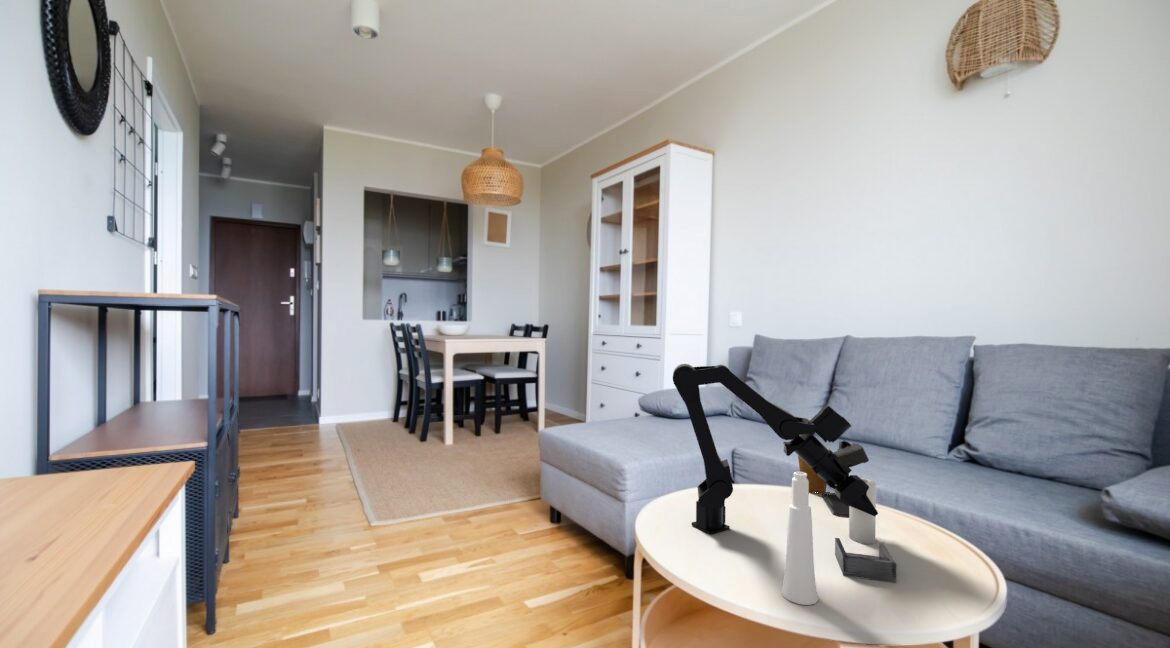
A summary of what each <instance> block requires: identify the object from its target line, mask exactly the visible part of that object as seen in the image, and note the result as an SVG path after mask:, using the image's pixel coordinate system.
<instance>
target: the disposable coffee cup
mask: <svg viewBox="0 0 1170 648" xmlns="http://www.w3.org/2000/svg"><path fill="white" fill-rule="evenodd" d="M826 448H827V447H826ZM827 449H829V448H827ZM797 460H798V468H799V472H804V473H806V474H807V477H806V478H807V479H808V481H809V494H815V492H816V493H817V492H818V494H819V493H822V494H824V493H825V494H826V493H827V492H826V491H827V486H828V485H827V484H826V483H825V482H824V481H823V480H822V479H821V478H820V477H819V476H818V475H817V474H816V473H815V472H814V471H813V470H812V469H811V467H810V466H809V465H808V464H807V463H806V462H805V461H804V460H802V459H801V458H800V457H799V456H798V455H797Z"/></svg>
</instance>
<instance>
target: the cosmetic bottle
mask: <svg viewBox="0 0 1170 648" xmlns="http://www.w3.org/2000/svg"><path fill="white" fill-rule="evenodd" d="M806 477H807V474H806V473H804V472H800V471H794V472H793V477H792V478H791V503H789V506H788V517H787V518H788V521H787V535H786V536H787V537H786V538H787V539H786V554H785V565H784V572H783V573H784V574H783V581H782V586H781V595H782V596H783V597H784V598H785V599H786V600H788V601H789V602H791V603H794V604H798V605H801V606H811V605H815V604H816V603H817V602H818V601H819V596H818V595H819V594H818V591H817V589H818V588H817V582H816V575H815V563H814V542H813V540H814V537H813V522H812V521H813V518H812V507H811V506H810V505H809V504H810V503H809V502H810V501H809V494H810V493H809V481H808V479H807V478H806Z"/></svg>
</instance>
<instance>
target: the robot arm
mask: <svg viewBox="0 0 1170 648" xmlns="http://www.w3.org/2000/svg"><path fill="white" fill-rule="evenodd" d="M672 381H673V384H674V386H675V388H676V390H677V392H678V394H679V396H680V398H681V400H682V401H683V403H684V405H685V406H686V409H687V413H688V416H689V419H690V422H691V425H692V428H693V432H694V434H695V438H696V440H697V444H698V446H699V447H698V448H699V450H700V453H701V456H702V459H703V465H704V473H705V478H704V480H703V481H702V482H700V484H699V485H697V494H698V499H697V500H696V501H695V505H696V506H695V510H696V511H695V513H696V514H695V521H693V522H691V526H693V527H695V528H697V529H699V530H701V531H703V532H705V533H706V534H708V535H712V534H713V535H714V534H717V533H719V532H723V531H726V530H730V526H729V525H727V524H726V505H725V503H726V502H725V501H726V499H728V498H730V497H731V495H732V493H733V492H734V487H733V486H734V485H733V484H735V483H736V481H735V479H734V475H733V473H732V472H731V469H730V468H731V467H730V464H729V461H728V459H724V460H722V459H721V456H720V455H719V453H718V450H717V447H716V445H715V441H714V439H713V436H712V432H711V429H710V426H709V422H708V420H707V417H706V413H705V409H704V408H703V405H702V400H701V395H700V394H701V393H700V386H703V385H704V386H705V385H711V384H718V383H719V384H721V385H723V386H724V387H725V388H726V389H727V390H729V391H730V392H731V393H732V394H733V395H735V396H736V397H737V398H739V400H741V401H742V402H743V403H744V404H745V405H747V406H748V407H750V408H751V409H752V410H753V411H755V413H757V414H758V415H759V416H760V417H761V418H762V420H764V421H765V423H766V424H767V425H768V426H769V428H770V429H772V430H773V432H774V433H775V434H776V436H778V437H779V438H780V439H782V440H784V441H783V453H785V456H787V457H790V456H791V455H792V454H793V453H794V452H795V454H796V455H797V457H798V456H799V457H800V458H801V459H802V460H804V461H805V462H806V463H807V464H808V465H809V466H810V467H811V469H812V470H813V471H814V472H815V473H816V474H817V475H818V476H819V477H820V478H821V479H822V480H823V481H824V482H825V483H826V484H827V486H829V488H830V489H831V488H832V489H834V491H835V492H834V494H836V496H837V497H838V498H839V499H840V500H841V501H842V502H843V503H844V504H845V505H846V506H851V507H853V508H856V509H858V510H861V511H863V512H865V513H868V514H870V515H872V516H877V515H879V511H878V510H877V509H875V507H874V506H873V504H872V503H871V501H870V500H869V498H868V497H867V491H868V488H869V486H868V485H867V484H866V483H865V482H864V481H863V480H862V479H861V478H862V477H860V476H859V475H857V474H855V475H854V474H850V473H851V472H852V471H853V470H852V469H851V468H852V467H856V466H859V465H861V464H866V463H868V462H869V461H870V459H869V457H868V454H867V453H866V451H865V449H864V447H863V446H862V445H861V444H859V443H855V442H853V443H850V442H849V441H847V440H846V439H844V440H841V441H839V442H838V448H837V450H836V451H834V452H833V451H832V450H831V449H830V448H828V449H827V447H826V446H825V445H824V444H823V443H822V442H821V441H820V440H819V439H818V438H817V437H816V436H815V435H817V436H818V437H819V438H820V439H821V440H822V441H823V442H824V443H827V442H828V443H834V442H836V441H837V440H838V439H840V437H841V436H842V435H844V433H846V432H847V431H848V430H849V429H851V428H852V425H851V423H850V422H849V421H848V420H847V419H846V418H845V417H843V416H842V415H841V414H839V413H838V412H837V411H836V410H834V409H833V408H832V406H830V405H828V404H825V405H824V406H823V407H822V408H821V409H820V410H819V412H817V414H815V415H814V416H813V417H812V418H811V419H810V420H809V419H808V418H805V417H799V416H794V415H793V413H791V412H789V411H788V410H786V409H784V408H782V407H780V406H778V405H776V404H775V403H772V402H771V401H769V400H768V399H766V398H765V397H763V396H762V395H761V394H760V393H759V392H757V391H756V390H755V389H754V388H753V387H751V386H750V385H749V384H747V383H746V382H745V381H744V380H742V379H741V378H739V376H738V375H736V374H735V373H734V372H732V371H731V370H730V369H729V367H727V366H726V365H724V364H717V365H709V366H708V365H704V366H703V365H702V366H692V365H690V364H689V363H688V364H687V363H682V364H678V365H677V366H676V367H675V368H674V370H673V374H672ZM814 434H815V435H814Z"/></svg>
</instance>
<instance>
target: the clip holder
mask: <svg viewBox="0 0 1170 648" xmlns="http://www.w3.org/2000/svg"><path fill="white" fill-rule="evenodd" d="M834 556H835V559H836V561H837V562H838V563H837V564H838V566H839V569H840V570H841V574H842V576H844V577H851V578H852V577H853V578H859V579H867V580H872V581H873V580H874V581H880V582H882V581H883V582H888V583H897V562H896V561H895V558H894V557H893V556H892V554H891V553H890V551H889V550H888V549H887V547H886V545H885V544H884V542H879V543H878V555H871V554H862V553H855V552H854V553H853V552H846V549H845V548H844V545H843V544H842V541H841V539H840V537H835V538H834Z"/></svg>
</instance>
